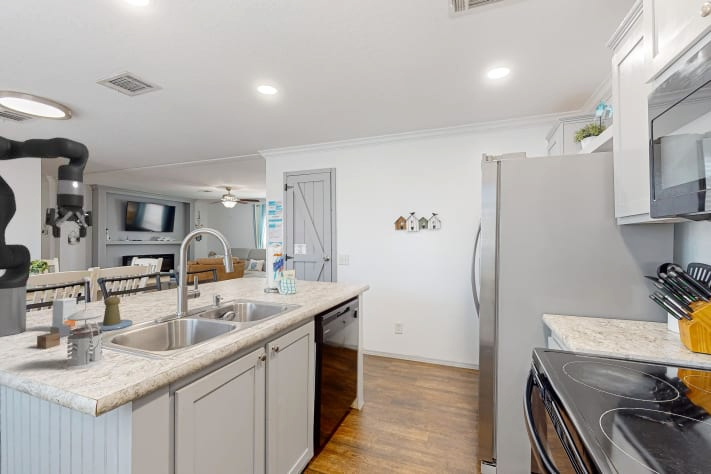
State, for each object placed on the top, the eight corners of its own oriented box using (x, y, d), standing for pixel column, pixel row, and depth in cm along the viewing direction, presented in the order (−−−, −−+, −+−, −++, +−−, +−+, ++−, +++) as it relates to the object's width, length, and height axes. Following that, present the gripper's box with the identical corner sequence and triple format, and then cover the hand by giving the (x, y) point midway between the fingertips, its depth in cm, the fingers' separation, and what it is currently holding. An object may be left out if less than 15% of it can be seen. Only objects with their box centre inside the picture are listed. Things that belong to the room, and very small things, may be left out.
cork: (124, 322, 134) (125, 295, 134) (112, 326, 128) (112, 298, 128) (111, 321, 134) (111, 295, 134) (98, 325, 128) (98, 298, 128)
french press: (97, 354, 100) (98, 274, 100) (115, 362, 94) (116, 276, 94) (56, 365, 92) (57, 277, 92) (73, 374, 86) (74, 280, 86)
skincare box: (62, 331, 123) (63, 300, 123) (51, 331, 123) (52, 300, 123) (76, 327, 129) (77, 297, 129) (66, 327, 129) (66, 297, 129)
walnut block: (36, 348, 105) (37, 335, 105) (51, 344, 109) (51, 332, 109) (46, 349, 104) (46, 336, 104) (59, 345, 108) (60, 333, 108)
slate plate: (79, 329, 126) (79, 327, 126) (114, 320, 139) (114, 318, 139) (108, 332, 122) (108, 330, 122) (140, 323, 136) (140, 320, 136)
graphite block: (50, 337, 116) (50, 326, 116) (62, 334, 120) (62, 323, 120) (58, 338, 115) (58, 327, 115) (70, 335, 119) (71, 324, 119)
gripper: (82, 196, 127) (82, 237, 127) (40, 191, 113) (39, 237, 113) (97, 196, 125) (97, 237, 125) (56, 191, 111) (55, 237, 111)
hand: (70, 237), depth 119 cm, fingers open, 8 cm apart
